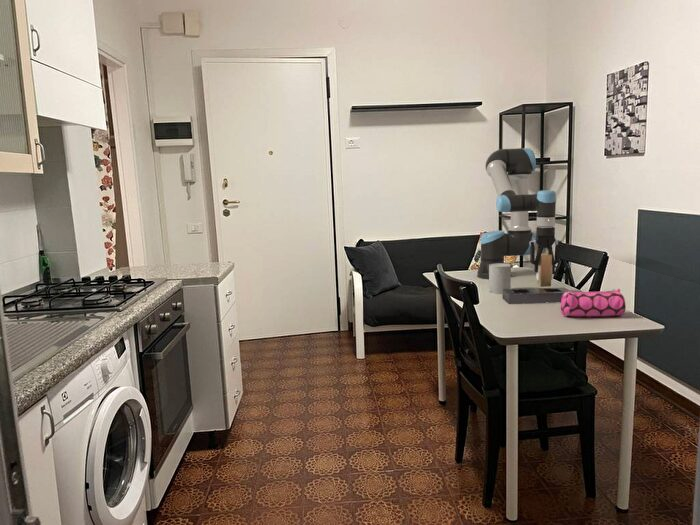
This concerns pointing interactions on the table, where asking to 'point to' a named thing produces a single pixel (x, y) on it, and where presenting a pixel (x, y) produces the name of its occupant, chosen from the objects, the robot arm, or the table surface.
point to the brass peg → (545, 270)
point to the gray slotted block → (533, 295)
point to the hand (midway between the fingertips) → (544, 279)
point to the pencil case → (593, 303)
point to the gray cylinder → (499, 277)
